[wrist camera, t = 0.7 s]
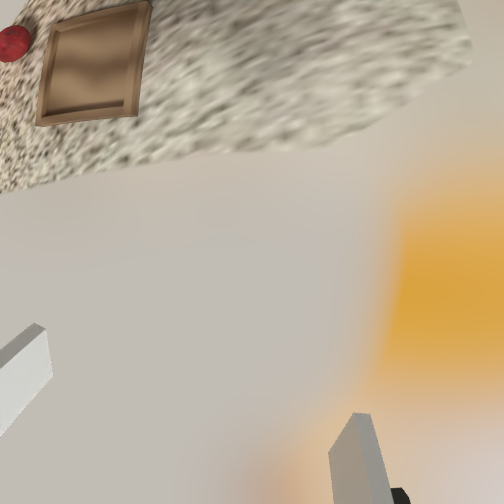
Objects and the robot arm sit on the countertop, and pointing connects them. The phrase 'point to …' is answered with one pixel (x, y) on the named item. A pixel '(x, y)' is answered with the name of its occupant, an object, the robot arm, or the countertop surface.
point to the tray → (94, 66)
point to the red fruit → (13, 43)
